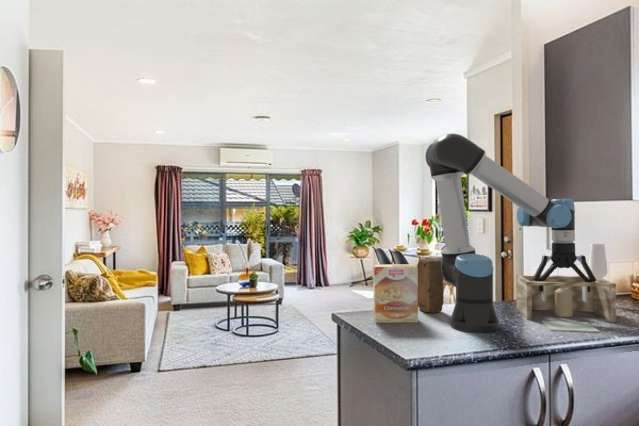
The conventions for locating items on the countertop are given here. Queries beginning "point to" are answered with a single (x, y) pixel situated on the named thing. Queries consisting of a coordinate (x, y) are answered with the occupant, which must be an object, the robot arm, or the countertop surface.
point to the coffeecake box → (395, 293)
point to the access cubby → (597, 299)
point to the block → (430, 285)
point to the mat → (569, 326)
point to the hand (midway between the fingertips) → (564, 301)
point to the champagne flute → (598, 260)
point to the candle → (563, 302)
